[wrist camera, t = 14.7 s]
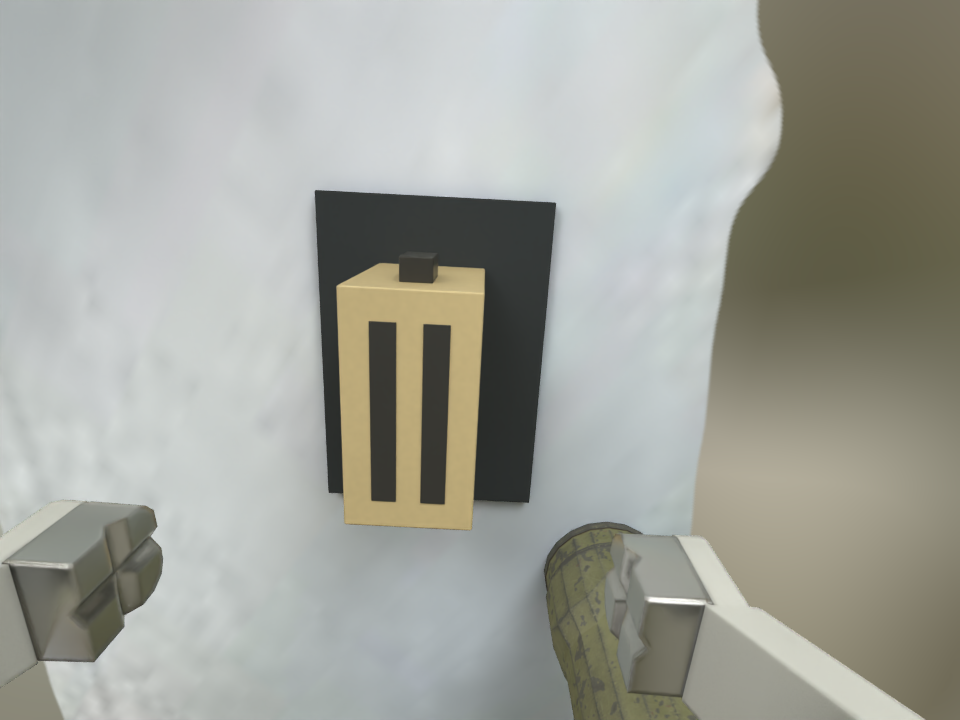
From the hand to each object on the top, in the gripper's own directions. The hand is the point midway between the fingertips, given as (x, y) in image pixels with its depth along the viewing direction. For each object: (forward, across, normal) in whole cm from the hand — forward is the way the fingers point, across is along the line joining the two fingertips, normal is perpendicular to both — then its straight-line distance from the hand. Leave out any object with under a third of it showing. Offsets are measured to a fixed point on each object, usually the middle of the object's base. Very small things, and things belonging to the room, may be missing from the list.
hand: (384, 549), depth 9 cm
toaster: (+23, -2, -4) cm, 23 cm away
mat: (+24, -2, -4) cm, 24 cm away
